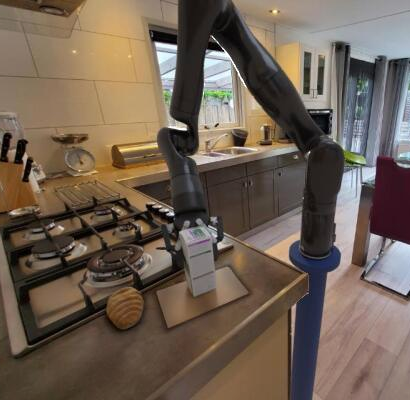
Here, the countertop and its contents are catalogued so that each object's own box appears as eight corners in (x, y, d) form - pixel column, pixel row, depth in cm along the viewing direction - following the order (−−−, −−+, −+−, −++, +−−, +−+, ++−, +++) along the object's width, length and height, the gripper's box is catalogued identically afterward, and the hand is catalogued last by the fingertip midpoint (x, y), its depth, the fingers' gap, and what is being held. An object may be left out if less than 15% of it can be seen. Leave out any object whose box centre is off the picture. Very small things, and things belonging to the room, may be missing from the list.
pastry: (150, 321, 51) (147, 306, 49) (111, 338, 47) (107, 323, 45) (140, 294, 57) (137, 280, 56) (106, 307, 54) (101, 293, 52)
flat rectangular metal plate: (227, 266, 67) (227, 266, 67) (249, 293, 58) (249, 293, 58) (156, 292, 58) (156, 291, 58) (167, 328, 49) (167, 328, 49)
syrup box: (217, 288, 59) (213, 234, 54) (192, 298, 56) (185, 242, 51) (208, 275, 63) (203, 224, 58) (185, 283, 60) (177, 230, 55)
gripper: (154, 194, 55) (163, 269, 50) (219, 186, 61) (233, 254, 55) (157, 207, 62) (166, 275, 56) (216, 199, 67) (228, 260, 61)
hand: (199, 264), depth 56 cm, fingers closed on syrup box, 6 cm apart
